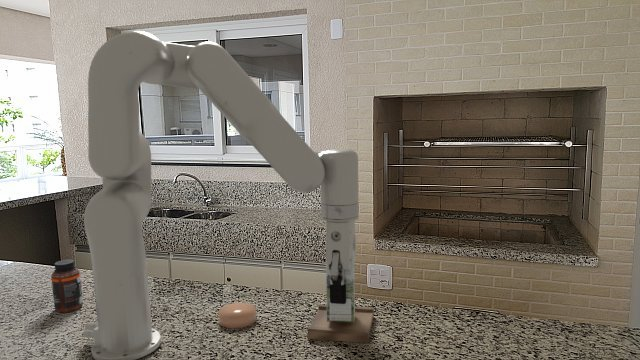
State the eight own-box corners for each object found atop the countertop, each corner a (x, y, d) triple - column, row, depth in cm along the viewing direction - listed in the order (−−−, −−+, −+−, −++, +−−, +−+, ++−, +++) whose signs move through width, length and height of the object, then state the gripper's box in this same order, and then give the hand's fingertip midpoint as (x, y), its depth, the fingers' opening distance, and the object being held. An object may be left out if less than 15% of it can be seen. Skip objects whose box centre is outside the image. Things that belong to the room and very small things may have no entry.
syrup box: (355, 311, 103) (354, 245, 101) (354, 323, 97) (354, 254, 95) (328, 310, 103) (327, 245, 101) (326, 322, 97) (325, 253, 95)
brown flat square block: (307, 338, 96) (307, 328, 96) (319, 313, 107) (319, 304, 107) (368, 343, 93) (367, 333, 93) (373, 316, 105) (373, 307, 105)
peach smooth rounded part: (212, 326, 103) (211, 315, 102) (230, 311, 110) (229, 300, 110) (246, 331, 100) (246, 320, 100) (262, 315, 108) (261, 304, 107)
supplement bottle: (89, 304, 115) (84, 259, 113) (67, 314, 110) (62, 267, 108) (70, 301, 117) (65, 256, 116) (48, 311, 112) (43, 264, 110)
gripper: (352, 221, 88) (353, 315, 90) (363, 203, 104) (363, 282, 107) (312, 220, 89) (314, 312, 92) (329, 202, 106) (330, 280, 109)
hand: (340, 295), depth 99 cm, fingers closed on syrup box, 6 cm apart
